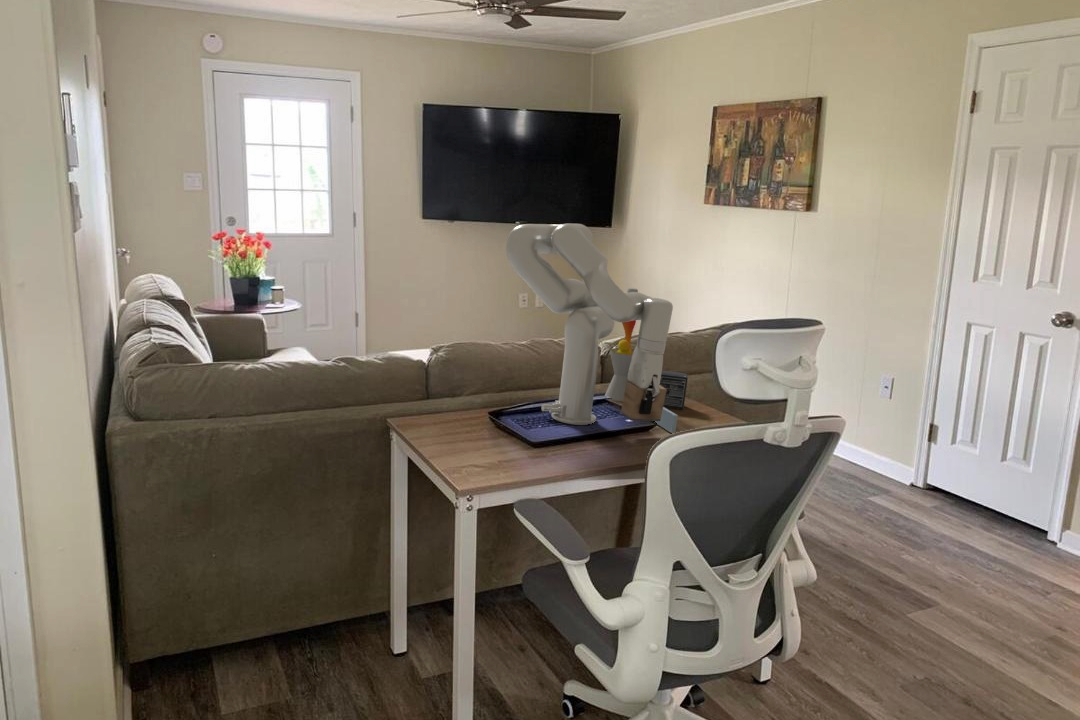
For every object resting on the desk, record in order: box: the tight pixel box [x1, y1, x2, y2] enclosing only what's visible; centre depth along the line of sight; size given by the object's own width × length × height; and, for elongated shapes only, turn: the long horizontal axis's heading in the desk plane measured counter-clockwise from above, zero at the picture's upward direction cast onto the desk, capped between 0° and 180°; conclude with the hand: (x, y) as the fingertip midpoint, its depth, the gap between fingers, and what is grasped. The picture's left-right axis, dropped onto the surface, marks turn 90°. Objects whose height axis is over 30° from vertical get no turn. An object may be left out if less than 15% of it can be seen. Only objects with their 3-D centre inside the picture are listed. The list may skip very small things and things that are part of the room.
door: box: [654, 407, 679, 434], centre depth 230 cm, size 2×15×5 cm, turn 21°
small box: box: [659, 370, 689, 410], centre depth 253 cm, size 11×6×10 cm, turn 84°
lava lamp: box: [604, 287, 639, 402], centre depth 253 cm, size 9×9×35 cm
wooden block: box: [620, 381, 667, 422], centre depth 218 cm, size 9×6×9 cm, turn 111°
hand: (638, 409), depth 218 cm, fingers closed on wooden block, 6 cm apart
